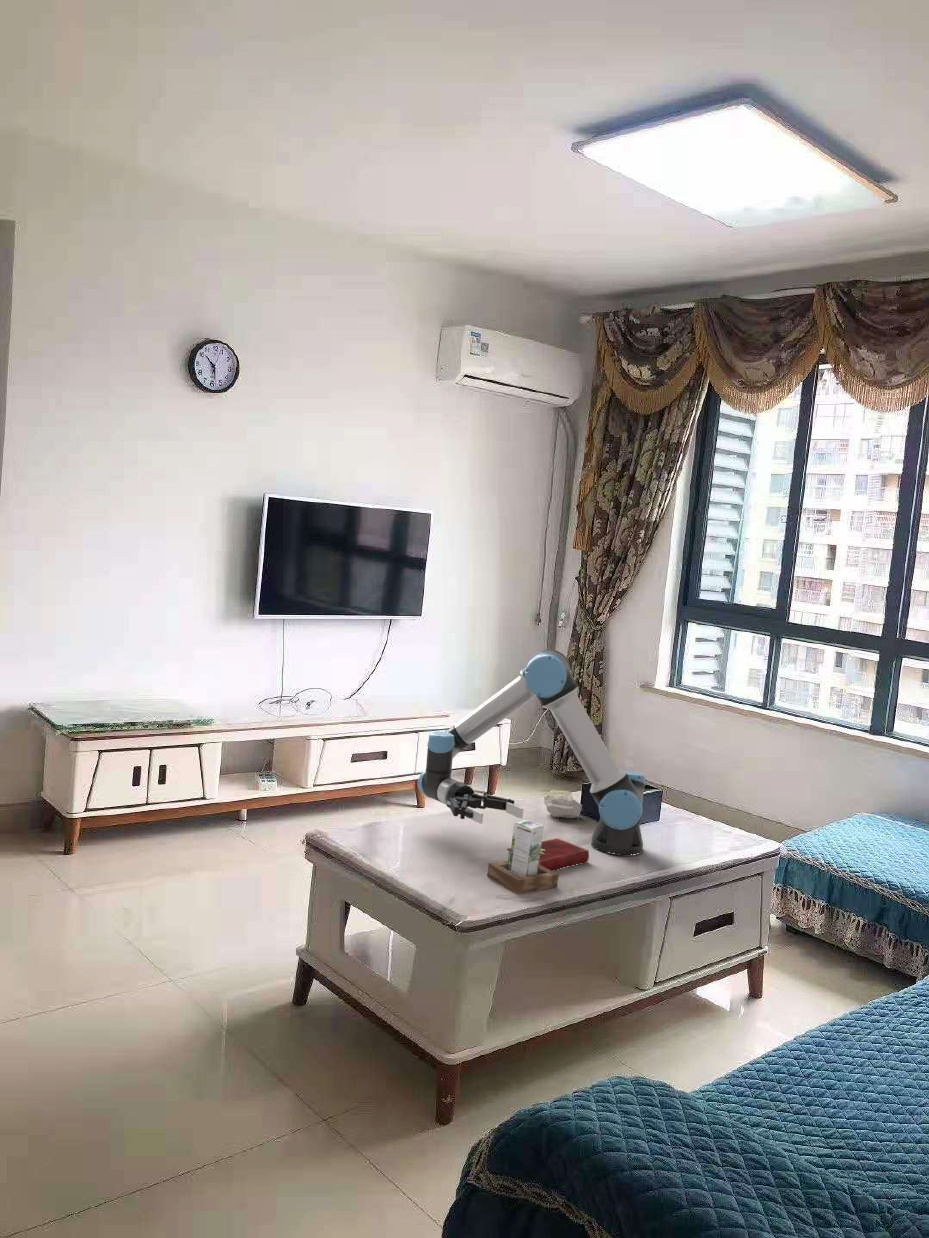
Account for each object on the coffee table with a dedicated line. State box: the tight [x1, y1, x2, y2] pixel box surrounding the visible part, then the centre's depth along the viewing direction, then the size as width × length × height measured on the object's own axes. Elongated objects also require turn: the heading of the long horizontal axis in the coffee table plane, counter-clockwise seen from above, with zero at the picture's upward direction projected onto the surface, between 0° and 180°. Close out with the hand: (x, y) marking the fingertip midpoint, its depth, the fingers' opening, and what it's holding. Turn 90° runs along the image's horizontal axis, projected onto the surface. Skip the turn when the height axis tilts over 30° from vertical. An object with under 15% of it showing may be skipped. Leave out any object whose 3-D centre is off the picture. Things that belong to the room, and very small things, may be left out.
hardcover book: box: [506, 837, 590, 872], centre depth 283 cm, size 12×21×4 cm, turn 134°
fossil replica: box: [543, 789, 583, 819], centre depth 330 cm, size 12×8×10 cm
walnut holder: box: [486, 860, 560, 895], centre depth 265 cm, size 13×13×4 cm
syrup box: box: [508, 819, 545, 877], centre depth 265 cm, size 6×6×14 cm
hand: (502, 816), depth 273 cm, fingers open, 13 cm apart
